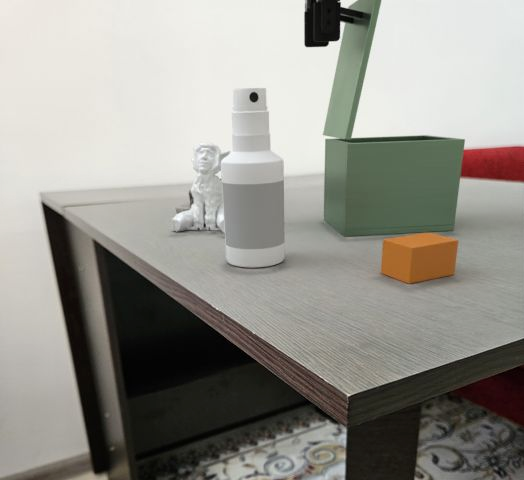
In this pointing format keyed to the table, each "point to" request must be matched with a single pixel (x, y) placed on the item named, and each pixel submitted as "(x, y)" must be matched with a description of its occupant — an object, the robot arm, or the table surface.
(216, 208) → the sitting furry creature
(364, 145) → the trash bin
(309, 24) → the robot arm
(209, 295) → the table surface
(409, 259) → the orange rectangular block
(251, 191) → the spray bottle
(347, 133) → the bin lid
